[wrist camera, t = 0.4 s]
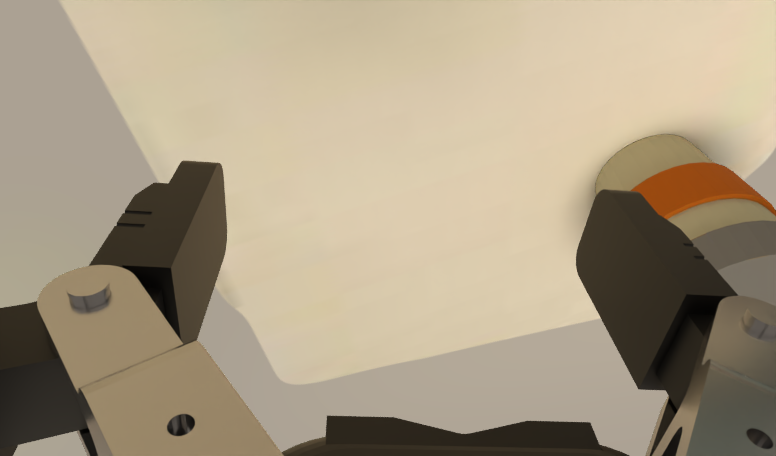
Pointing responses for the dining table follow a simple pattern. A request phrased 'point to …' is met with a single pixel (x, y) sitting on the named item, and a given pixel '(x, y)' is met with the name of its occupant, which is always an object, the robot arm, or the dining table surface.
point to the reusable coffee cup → (703, 208)
